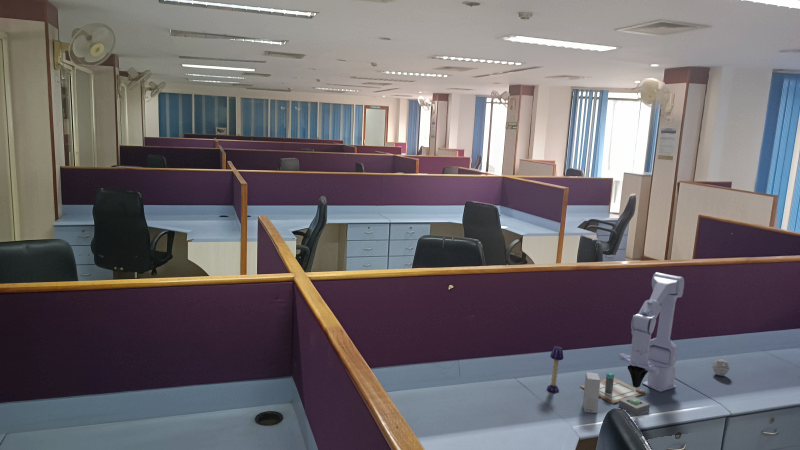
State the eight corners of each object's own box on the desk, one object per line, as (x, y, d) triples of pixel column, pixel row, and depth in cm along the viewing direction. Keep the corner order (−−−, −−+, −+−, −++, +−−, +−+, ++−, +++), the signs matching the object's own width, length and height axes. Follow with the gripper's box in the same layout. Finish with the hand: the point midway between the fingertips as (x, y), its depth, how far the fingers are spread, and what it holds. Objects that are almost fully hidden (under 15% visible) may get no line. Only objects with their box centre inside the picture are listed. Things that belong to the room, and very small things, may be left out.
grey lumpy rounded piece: (714, 378, 225) (716, 361, 224) (708, 371, 232) (710, 354, 231) (730, 380, 224) (733, 363, 223) (725, 373, 231) (727, 356, 230)
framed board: (613, 377, 222) (613, 375, 222) (646, 393, 209) (647, 391, 209) (580, 387, 213) (580, 384, 213) (613, 404, 200) (613, 401, 200)
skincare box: (597, 413, 193) (600, 380, 191) (584, 412, 194) (587, 378, 192) (595, 405, 199) (598, 373, 197) (582, 403, 200) (585, 371, 198)
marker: (608, 389, 210) (610, 371, 209) (614, 392, 208) (616, 374, 207) (603, 391, 209) (604, 373, 208) (608, 394, 207) (610, 376, 205)
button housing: (631, 402, 202) (632, 395, 202) (649, 410, 196) (649, 404, 196) (618, 406, 199) (619, 399, 198) (635, 415, 193) (636, 408, 192)
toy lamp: (554, 386, 213) (558, 344, 210) (563, 391, 209) (567, 348, 206) (544, 388, 211) (548, 345, 208) (552, 394, 207) (556, 350, 204)
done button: (632, 405, 200) (633, 397, 199) (641, 409, 197) (642, 401, 196) (626, 407, 198) (627, 399, 198) (634, 411, 195) (635, 403, 195)
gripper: (614, 343, 198) (611, 380, 200) (651, 358, 186) (647, 397, 188) (628, 340, 202) (624, 376, 204) (665, 355, 189) (660, 393, 192)
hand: (636, 386), depth 196 cm, fingers closed
